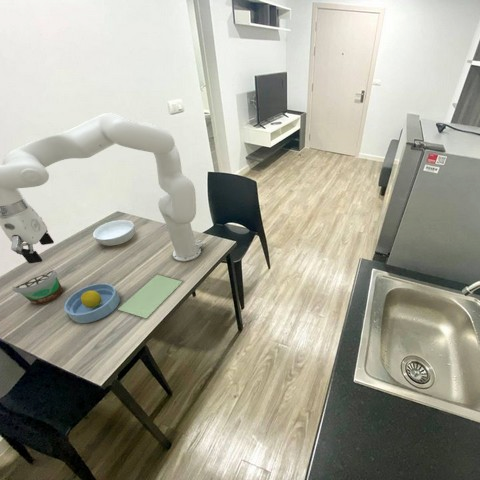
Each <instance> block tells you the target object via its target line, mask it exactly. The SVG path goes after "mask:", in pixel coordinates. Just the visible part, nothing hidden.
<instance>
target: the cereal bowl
mask: <svg viewBox="0 0 480 480" xmlns="http://www.w3.org/2000/svg"><path fill="white" fill-rule="evenodd" d="M135 234H136V226H135V224H134V222H132V221H131V220H126V219H118V220H112V221H109V222H106V223H103V224H101V225H99V226H98V227H96V228H95V230H94V231H93V233H92V236H93V238H94V239H95V241H96V242H97V243H98V244H100V245H103V246H108V247H112V246H119V245H122V244H125V243H126V242H128V241H130V240H131V239H132V238H133V237H134V236H135Z"/></svg>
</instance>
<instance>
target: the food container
mask: <svg viewBox="0 0 480 480" xmlns="http://www.w3.org/2000/svg"><path fill="white" fill-rule="evenodd" d="M12 290H13V292H14V293H18V294H21V295H22V296H23V297H25V298H26V300H28V301H29V302H31V303H32V304H33V305H36V306H37V305H38V306H39V305H45V304H48V303H51V302H54V301H55V300H57V299H58V298H60V296H62V294H63V293H64V288H63V286H62V284H61V282H60V281H59V279H58V272H57V271H56V270H55V269H51V271H48V272H46V273H44V274H41V275H38V276H35V277H33V278H31V279H29V280H27V281H26V282H24V283H22V284H19V285H17V286H14V285H12Z"/></svg>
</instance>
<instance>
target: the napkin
mask: <svg viewBox="0 0 480 480" xmlns="http://www.w3.org/2000/svg"><path fill="white" fill-rule="evenodd" d="M182 283H183V281H182V280H178V279H175V278H171V277H167V276H165V275H164V276H163V275H159V274H156V275H154V276H153V277H152V278H151V279H149V281H148V282H146V283H145V285H143V286H142V287H141V288H140V289H139V290H137V292H135V293H134V294H133V295H132V296H131V297H130V298H129V299H127V301H125V302H124V303H123V304H122V305H121V306H119V308H118V309H117V311H121V312H123V313H126V314H130V315H134V316H136V317H140V318H142V319H143V318H144V319H148V318H149V317H150V316H151V315H152V314H153V313H154V312H155V311H156V310H157V309H158V308H159V307H160V306H161V305H162V304H163V303H164V302H165V301H166V299H168V297H170V296H171V294H172V293H174V292H175V290H176V289H177V288H178V287H179V286H180V285H182Z"/></svg>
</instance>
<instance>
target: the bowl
mask: <svg viewBox="0 0 480 480" xmlns="http://www.w3.org/2000/svg"><path fill="white" fill-rule="evenodd" d="M87 291H96V292H98V293H99V294H100V296H101V298H102V300H101V303H100V304H99V305H98V306H97V307H94V308H88V307H86V306H84V305H83V304H82V302H81V296H82V295H83V293H85V292H87ZM120 302H121V297H120V295H119V293H118V291H117V290H116V288H115V286H114V285H112V284H110V283H105V282H100V283H93V284H90V285H87V286H84V287H82V288H80V289H79V290H77V291H75V292H74V293H73V294H71V295H70V296H69V297H68V299H67V300H66V301H65V302H64V306H63V309H64V311H65V313H66V314H67V316H69V318H70V320H71V321H73V322H75V323H78V324H86V323H87V324H89V323H92V322H97V321H99V320H101V319H103V318H105V317H107V316H108V315H110V314H111V313H113V312H114V311H115V310H116V308H118V306H119V305H120Z"/></svg>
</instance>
